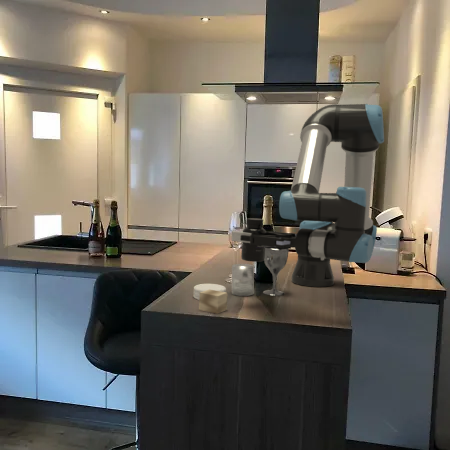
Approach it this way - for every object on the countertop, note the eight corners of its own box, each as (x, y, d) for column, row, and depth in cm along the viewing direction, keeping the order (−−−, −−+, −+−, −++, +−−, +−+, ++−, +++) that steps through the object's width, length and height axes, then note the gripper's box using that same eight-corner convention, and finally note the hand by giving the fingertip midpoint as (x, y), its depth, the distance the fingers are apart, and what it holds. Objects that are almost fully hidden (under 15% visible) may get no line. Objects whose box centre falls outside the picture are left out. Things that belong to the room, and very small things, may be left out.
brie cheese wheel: (188, 295, 154) (188, 284, 153) (217, 293, 158) (218, 282, 157) (200, 303, 145) (200, 291, 144) (231, 300, 149) (231, 289, 148)
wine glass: (282, 290, 165) (284, 245, 163) (289, 295, 157) (291, 249, 156) (259, 290, 164) (261, 245, 162) (265, 295, 156) (267, 249, 154)
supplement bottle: (263, 262, 139) (265, 220, 137) (239, 261, 140) (241, 219, 139) (266, 258, 145) (267, 218, 144) (243, 257, 147) (244, 217, 145)
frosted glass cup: (251, 290, 161) (251, 263, 161) (255, 295, 154) (255, 267, 154) (230, 291, 160) (230, 264, 160) (233, 296, 153) (233, 267, 153)
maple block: (226, 310, 138) (227, 292, 137) (217, 314, 134) (218, 296, 133) (208, 306, 141) (209, 289, 140) (198, 310, 137) (199, 292, 136)
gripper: (298, 261, 125) (221, 251, 136) (324, 252, 142) (253, 244, 153) (300, 232, 124) (222, 224, 136) (326, 226, 141) (254, 220, 153)
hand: (238, 235), depth 144 cm, fingers closed on supplement bottle, 7 cm apart
